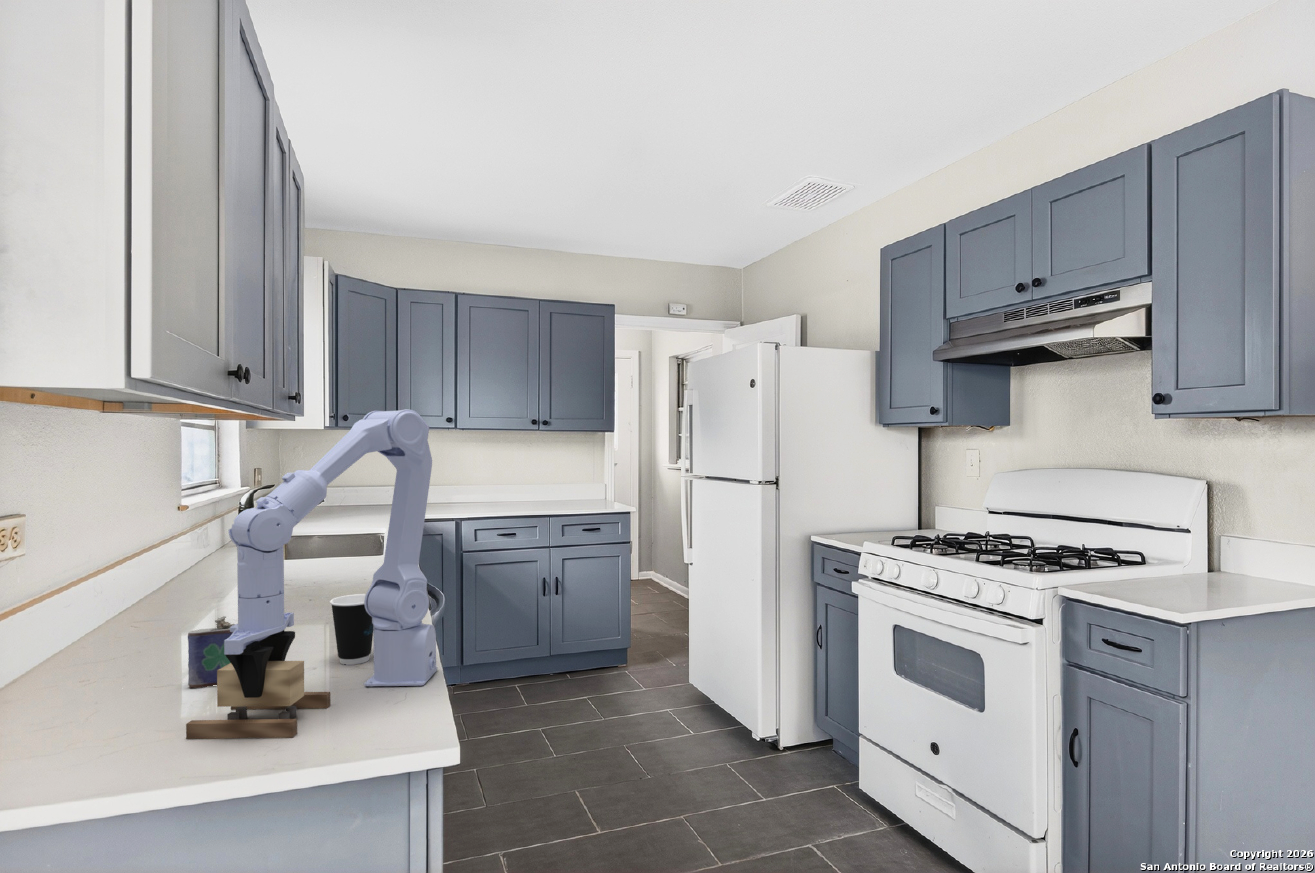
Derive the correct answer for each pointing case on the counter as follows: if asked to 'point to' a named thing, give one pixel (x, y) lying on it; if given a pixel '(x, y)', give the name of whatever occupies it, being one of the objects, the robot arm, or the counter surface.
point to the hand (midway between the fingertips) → (262, 690)
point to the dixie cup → (352, 629)
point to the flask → (207, 653)
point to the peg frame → (257, 721)
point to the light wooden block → (278, 685)
